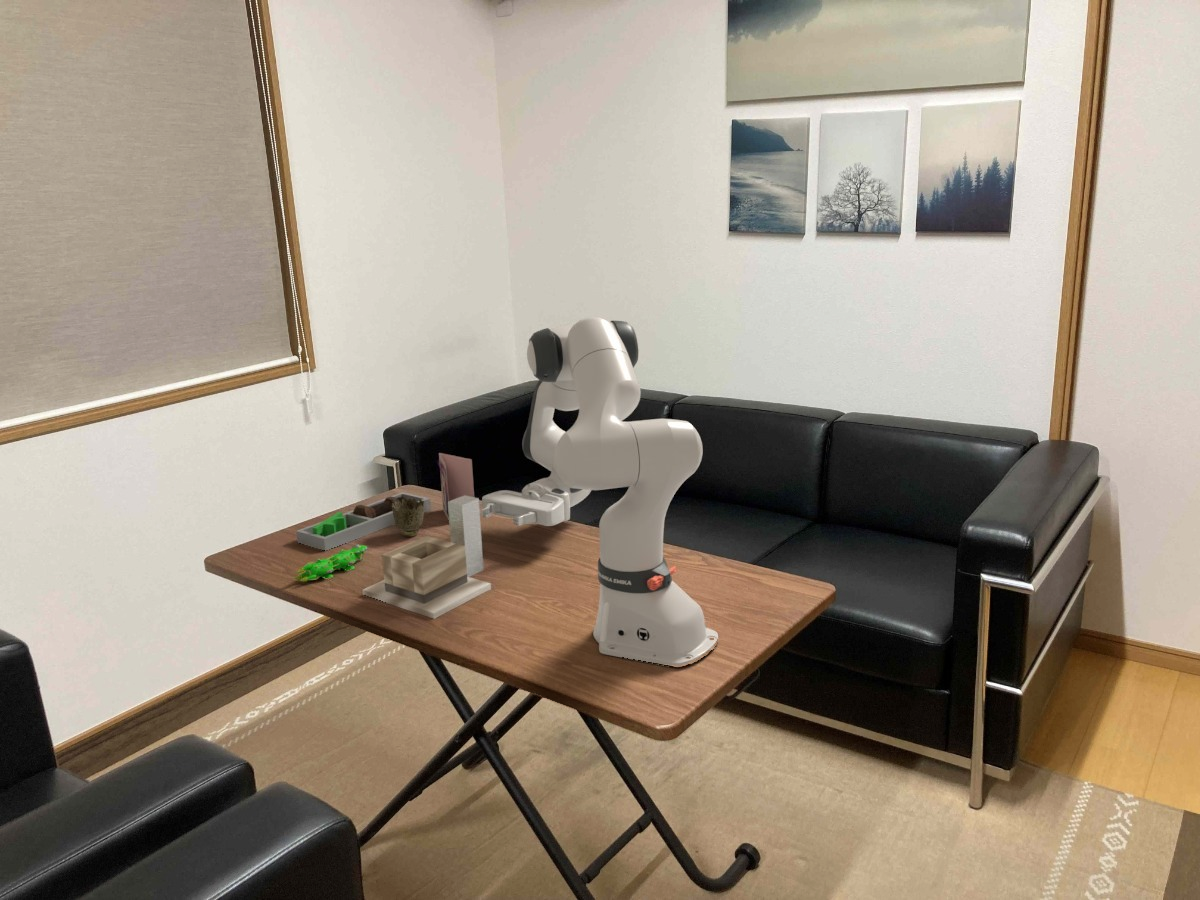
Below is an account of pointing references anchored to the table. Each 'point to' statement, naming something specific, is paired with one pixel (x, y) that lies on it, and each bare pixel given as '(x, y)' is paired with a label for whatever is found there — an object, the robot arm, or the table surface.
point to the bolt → (377, 508)
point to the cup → (408, 516)
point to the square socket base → (426, 578)
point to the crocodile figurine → (331, 564)
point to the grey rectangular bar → (467, 530)
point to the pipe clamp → (331, 525)
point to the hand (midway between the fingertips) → (499, 517)
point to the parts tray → (354, 526)
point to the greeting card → (455, 478)
